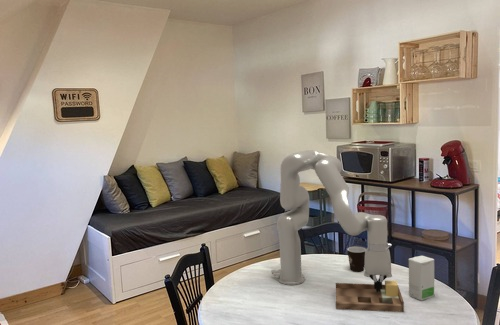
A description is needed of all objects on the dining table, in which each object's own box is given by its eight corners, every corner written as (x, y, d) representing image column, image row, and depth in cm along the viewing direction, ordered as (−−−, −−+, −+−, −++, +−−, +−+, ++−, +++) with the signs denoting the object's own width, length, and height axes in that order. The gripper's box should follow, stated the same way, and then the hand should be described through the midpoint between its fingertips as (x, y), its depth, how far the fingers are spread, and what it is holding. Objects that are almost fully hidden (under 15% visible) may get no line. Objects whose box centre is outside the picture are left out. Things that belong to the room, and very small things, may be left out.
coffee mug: (347, 266, 207) (346, 246, 205) (365, 266, 205) (364, 246, 204) (349, 275, 195) (348, 254, 194) (368, 275, 194) (368, 254, 193)
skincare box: (420, 301, 166) (420, 263, 164) (407, 295, 172) (407, 258, 170) (435, 296, 170) (435, 258, 168) (421, 290, 176) (421, 254, 174)
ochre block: (386, 295, 167) (386, 285, 167) (384, 291, 172) (384, 280, 171) (398, 296, 166) (397, 285, 166) (396, 291, 171) (396, 280, 170)
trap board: (335, 309, 163) (335, 298, 163) (335, 292, 178) (335, 283, 178) (403, 312, 158) (403, 301, 158) (398, 294, 173) (397, 285, 172)
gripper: (395, 243, 170) (396, 287, 172) (357, 243, 173) (358, 286, 175) (398, 249, 163) (399, 295, 165) (358, 249, 166) (359, 293, 168)
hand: (378, 290), depth 170 cm, fingers closed
